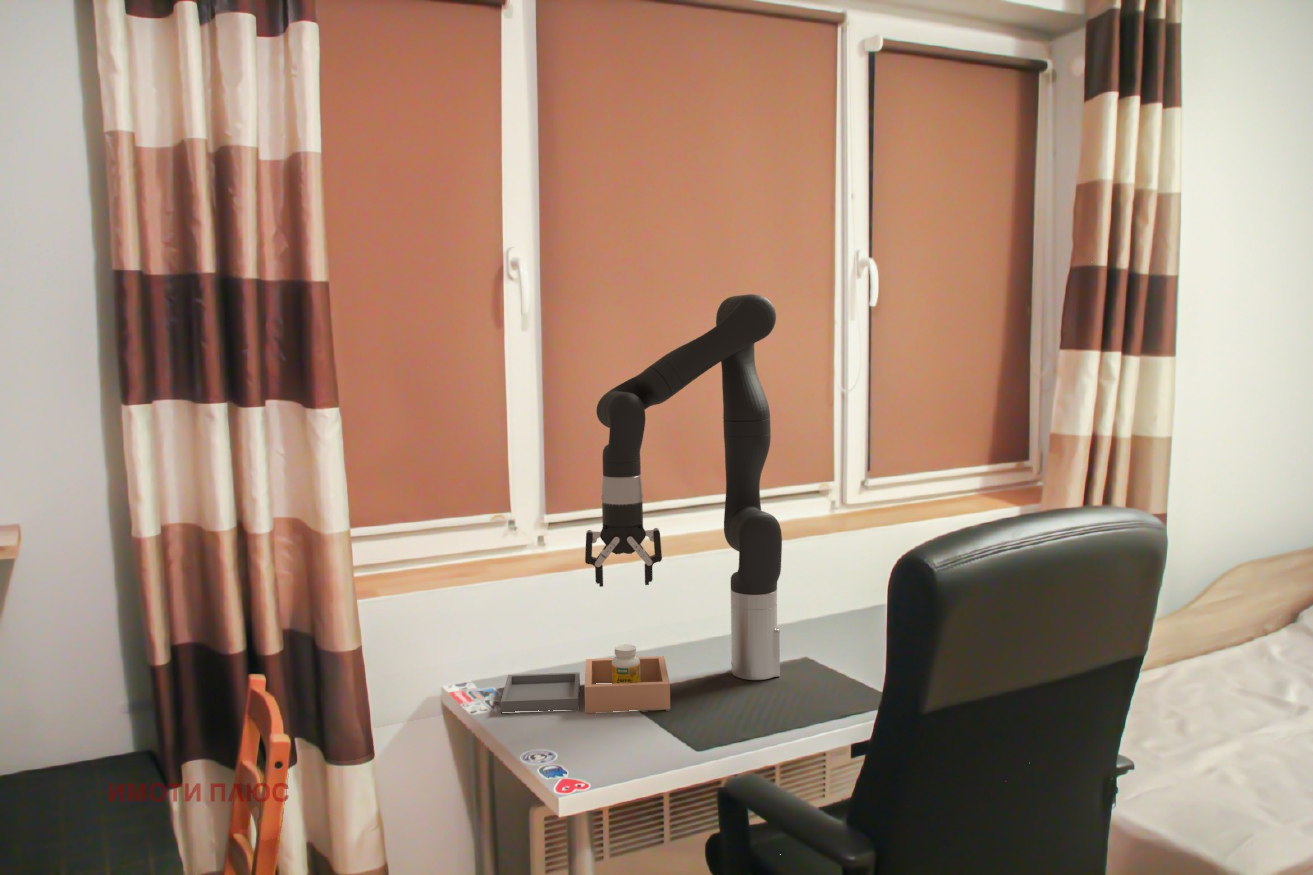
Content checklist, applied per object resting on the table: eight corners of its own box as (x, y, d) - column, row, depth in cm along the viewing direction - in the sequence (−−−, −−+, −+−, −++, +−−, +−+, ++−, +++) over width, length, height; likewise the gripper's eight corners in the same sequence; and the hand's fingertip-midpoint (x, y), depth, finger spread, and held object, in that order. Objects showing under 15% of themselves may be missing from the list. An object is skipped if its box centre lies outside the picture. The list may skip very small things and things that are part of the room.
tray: (580, 683, 188) (579, 672, 188) (578, 710, 174) (578, 698, 174) (508, 686, 188) (508, 675, 187) (501, 713, 174) (500, 701, 173)
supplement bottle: (639, 690, 184) (638, 642, 183) (642, 700, 179) (641, 650, 178) (611, 692, 183) (610, 643, 182) (613, 702, 178) (612, 652, 177)
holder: (664, 680, 189) (664, 656, 188) (670, 710, 174) (669, 683, 173) (586, 683, 188) (585, 659, 188) (585, 713, 173) (584, 687, 172)
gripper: (659, 495, 181) (660, 579, 183) (584, 497, 181) (586, 581, 182) (661, 501, 174) (663, 589, 175) (583, 503, 173) (585, 591, 175)
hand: (624, 585), depth 179 cm, fingers open, 8 cm apart
